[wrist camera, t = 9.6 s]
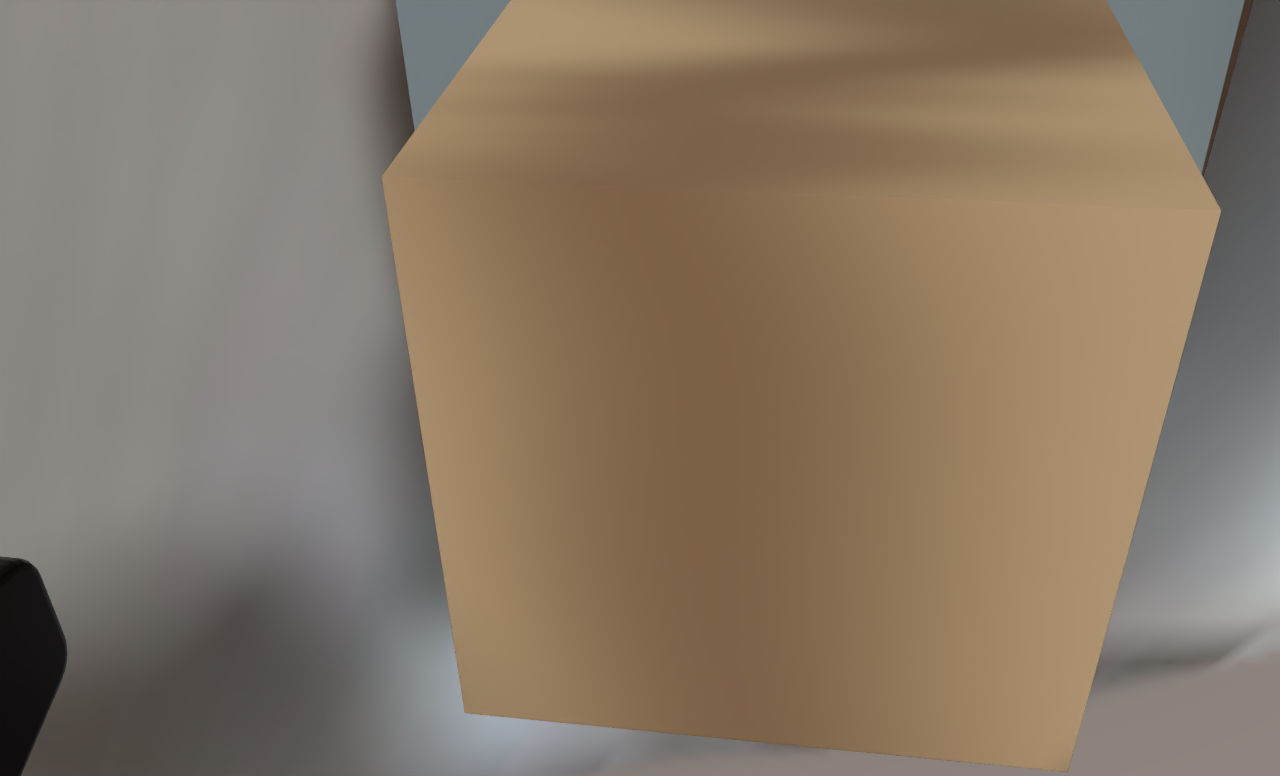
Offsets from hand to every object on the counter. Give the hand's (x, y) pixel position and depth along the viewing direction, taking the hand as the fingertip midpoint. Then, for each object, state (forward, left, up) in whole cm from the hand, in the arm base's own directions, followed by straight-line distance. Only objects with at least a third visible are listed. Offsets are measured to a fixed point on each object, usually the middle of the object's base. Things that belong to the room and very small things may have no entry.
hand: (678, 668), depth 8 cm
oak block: (0, 0, -6) cm, 6 cm away
